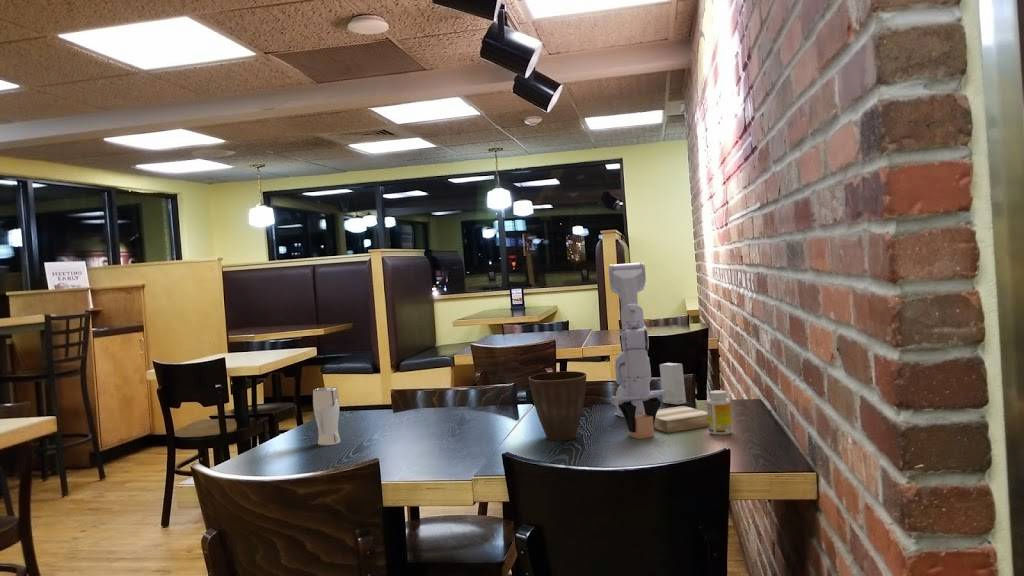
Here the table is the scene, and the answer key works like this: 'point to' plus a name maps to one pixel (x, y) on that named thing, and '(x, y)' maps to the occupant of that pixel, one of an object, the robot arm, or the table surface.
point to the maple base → (679, 419)
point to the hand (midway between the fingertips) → (641, 430)
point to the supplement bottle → (719, 413)
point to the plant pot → (559, 402)
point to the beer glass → (327, 415)
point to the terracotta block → (643, 426)
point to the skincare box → (673, 383)
